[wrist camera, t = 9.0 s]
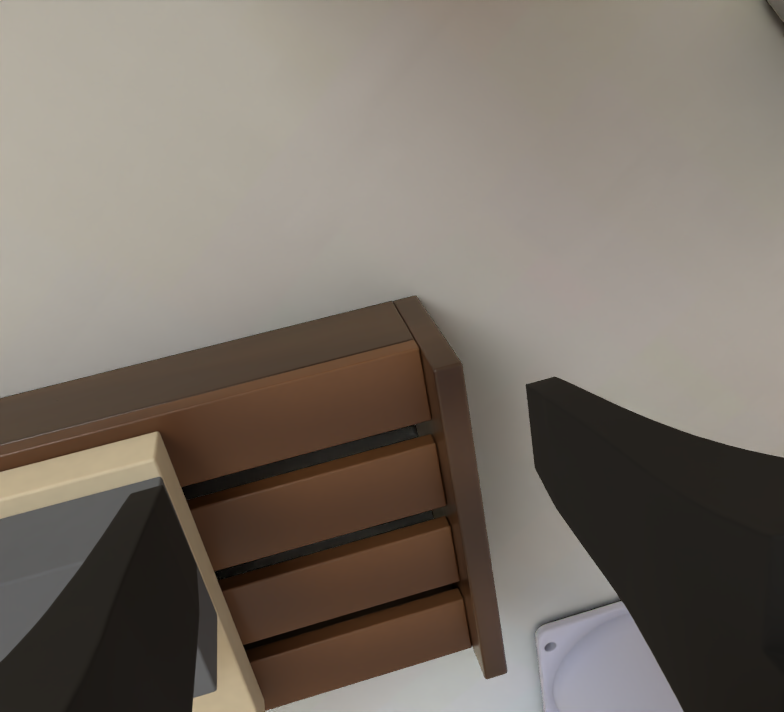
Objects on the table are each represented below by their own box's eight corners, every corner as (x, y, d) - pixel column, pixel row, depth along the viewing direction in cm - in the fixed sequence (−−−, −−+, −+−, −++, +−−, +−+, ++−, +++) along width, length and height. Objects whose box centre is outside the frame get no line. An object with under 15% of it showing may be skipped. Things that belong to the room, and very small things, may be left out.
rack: (463, 570, 29) (508, 673, 24) (52, 691, 27) (19, 827, 22) (416, 293, 23) (462, 362, 19) (-107, 424, 21) (-193, 533, 17)
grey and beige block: (264, 699, 24) (272, 818, 21) (114, 745, 24) (96, 874, 20) (159, 429, 19) (145, 525, 16) (-35, 479, 19) (-95, 590, 15)
